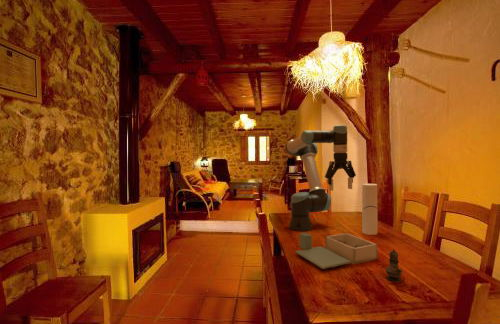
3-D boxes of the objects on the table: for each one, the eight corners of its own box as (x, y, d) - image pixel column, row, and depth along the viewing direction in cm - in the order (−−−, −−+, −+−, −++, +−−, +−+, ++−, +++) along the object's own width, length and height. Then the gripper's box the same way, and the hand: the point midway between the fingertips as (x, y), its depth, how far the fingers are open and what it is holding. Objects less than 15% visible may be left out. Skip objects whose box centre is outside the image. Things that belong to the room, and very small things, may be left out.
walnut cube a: (333, 249, 136) (333, 241, 136) (337, 247, 139) (337, 239, 139) (340, 251, 133) (340, 243, 133) (344, 249, 136) (344, 241, 136)
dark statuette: (382, 276, 109) (382, 246, 109) (396, 275, 110) (396, 246, 109) (391, 283, 103) (391, 252, 103) (405, 282, 104) (405, 251, 103)
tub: (325, 250, 139) (325, 236, 139) (346, 245, 144) (346, 233, 144) (354, 264, 120) (353, 249, 120) (377, 259, 126) (377, 244, 126)
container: (379, 235, 161) (378, 185, 160) (363, 234, 163) (363, 185, 162) (375, 231, 170) (375, 183, 169) (361, 230, 172) (360, 183, 171)
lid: (290, 251, 137) (290, 235, 137) (314, 247, 143) (314, 231, 143) (322, 272, 113) (322, 251, 113) (350, 266, 119) (350, 246, 119)
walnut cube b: (355, 252, 131) (355, 244, 131) (363, 252, 131) (363, 244, 131) (358, 256, 127) (358, 247, 127) (367, 255, 127) (367, 247, 127)
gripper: (326, 152, 146) (327, 192, 146) (362, 152, 155) (362, 188, 156) (318, 153, 152) (318, 190, 153) (352, 152, 162) (352, 187, 163)
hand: (340, 189), depth 154 cm, fingers open, 13 cm apart
